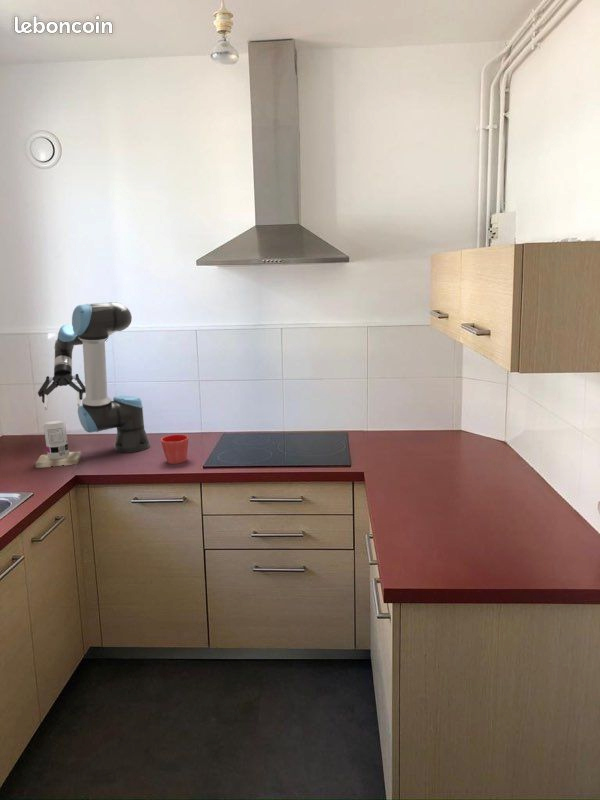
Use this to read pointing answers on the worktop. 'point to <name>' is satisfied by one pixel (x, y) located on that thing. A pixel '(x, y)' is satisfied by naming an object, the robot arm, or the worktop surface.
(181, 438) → the flower pot
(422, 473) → the worktop surface
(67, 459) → the birch board
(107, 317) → the robot arm
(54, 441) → the supplement can
